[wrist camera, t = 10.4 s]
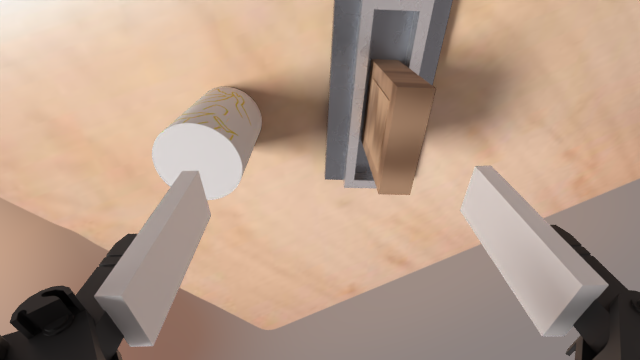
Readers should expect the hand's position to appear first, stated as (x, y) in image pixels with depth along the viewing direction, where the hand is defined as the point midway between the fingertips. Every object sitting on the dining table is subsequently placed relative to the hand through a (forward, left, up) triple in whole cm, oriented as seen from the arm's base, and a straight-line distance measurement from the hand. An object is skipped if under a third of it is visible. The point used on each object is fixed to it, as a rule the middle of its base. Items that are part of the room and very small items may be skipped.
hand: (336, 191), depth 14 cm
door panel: (+3, +7, -23) cm, 24 cm away
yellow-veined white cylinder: (+5, -12, -24) cm, 27 cm away
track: (+2, +7, -24) cm, 25 cm away
